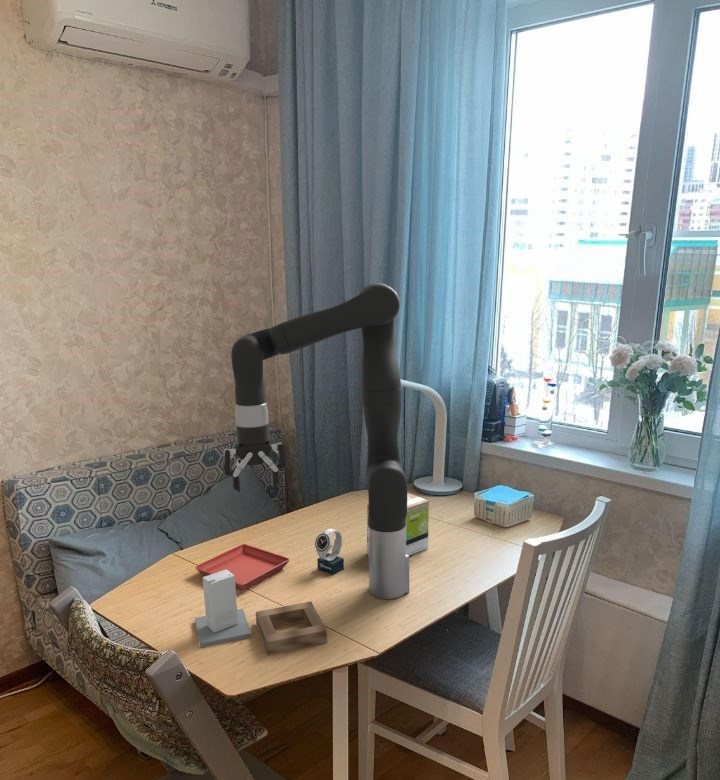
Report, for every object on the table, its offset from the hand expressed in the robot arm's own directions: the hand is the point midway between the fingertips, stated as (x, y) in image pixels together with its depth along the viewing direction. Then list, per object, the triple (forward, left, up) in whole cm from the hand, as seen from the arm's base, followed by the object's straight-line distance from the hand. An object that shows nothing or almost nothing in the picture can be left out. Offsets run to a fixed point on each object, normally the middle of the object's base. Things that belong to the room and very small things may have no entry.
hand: (255, 488), depth 158 cm
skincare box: (+11, +11, -27) cm, 31 cm away
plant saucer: (+2, -15, -29) cm, 32 cm away
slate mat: (+11, +11, -28) cm, 32 cm away
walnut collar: (-3, +18, -28) cm, 34 cm away
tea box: (-41, -12, -28) cm, 51 cm away
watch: (-20, -8, -28) cm, 36 cm away
